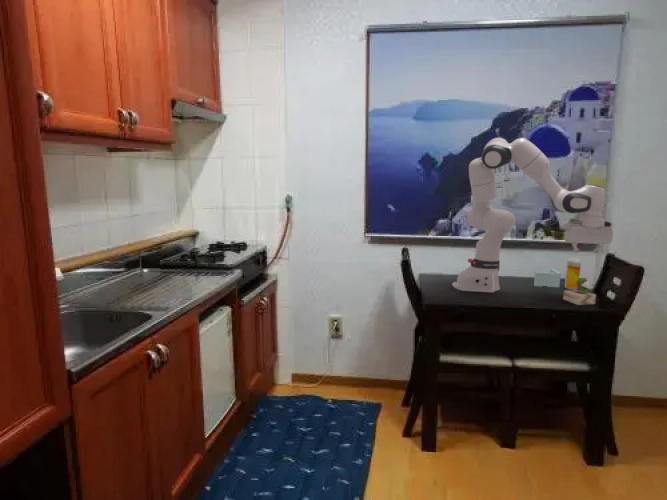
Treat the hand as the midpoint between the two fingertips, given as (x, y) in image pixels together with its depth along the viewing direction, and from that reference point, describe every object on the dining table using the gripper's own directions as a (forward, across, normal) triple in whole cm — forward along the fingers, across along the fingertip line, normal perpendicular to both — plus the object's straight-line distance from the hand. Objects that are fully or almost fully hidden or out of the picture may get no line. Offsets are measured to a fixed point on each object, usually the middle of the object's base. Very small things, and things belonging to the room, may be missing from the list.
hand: (586, 252), depth 213 cm
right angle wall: (+22, -2, +31) cm, 38 cm away
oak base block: (+22, -2, -2) cm, 22 cm away
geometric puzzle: (+18, 0, -1) cm, 18 cm away
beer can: (+22, +8, +21) cm, 31 cm away
